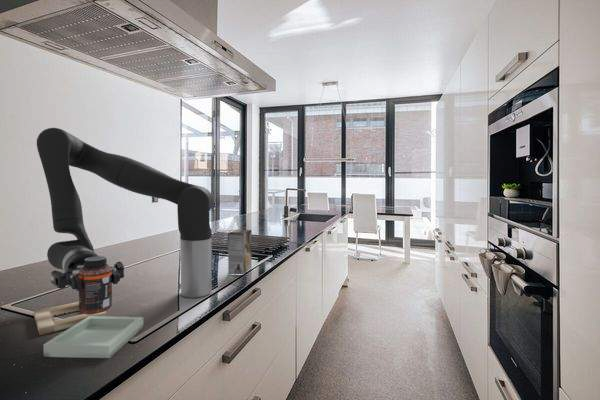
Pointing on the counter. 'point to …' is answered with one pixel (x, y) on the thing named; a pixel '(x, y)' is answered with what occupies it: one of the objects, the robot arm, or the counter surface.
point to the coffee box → (239, 251)
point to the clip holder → (49, 325)
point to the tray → (94, 337)
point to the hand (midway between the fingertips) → (98, 282)
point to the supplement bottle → (95, 286)
